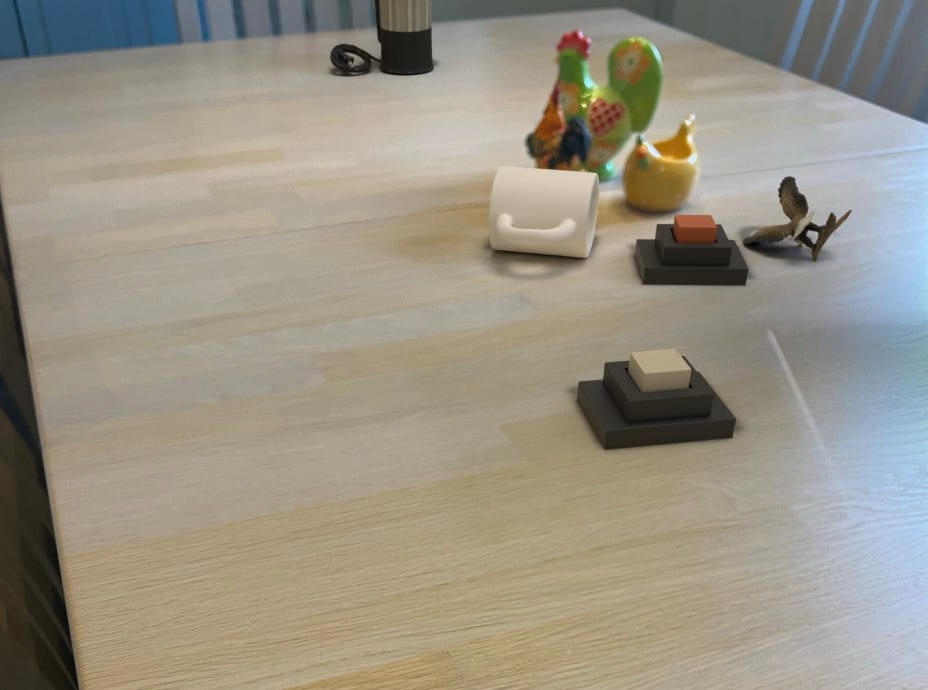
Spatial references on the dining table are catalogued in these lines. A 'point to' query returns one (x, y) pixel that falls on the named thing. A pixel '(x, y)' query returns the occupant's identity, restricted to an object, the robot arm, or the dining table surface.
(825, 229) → the eagle figurine
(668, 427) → the black stepped base
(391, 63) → the milk frother
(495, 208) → the mug
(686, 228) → the terracotta key
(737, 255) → the dark grey stepped base
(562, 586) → the dining table surface
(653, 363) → the cream key
